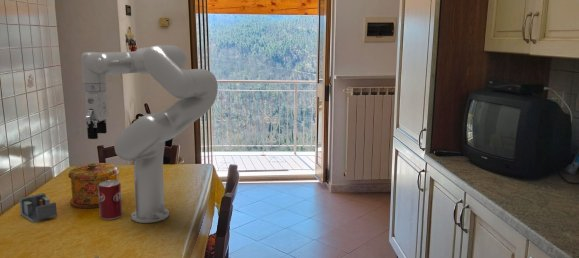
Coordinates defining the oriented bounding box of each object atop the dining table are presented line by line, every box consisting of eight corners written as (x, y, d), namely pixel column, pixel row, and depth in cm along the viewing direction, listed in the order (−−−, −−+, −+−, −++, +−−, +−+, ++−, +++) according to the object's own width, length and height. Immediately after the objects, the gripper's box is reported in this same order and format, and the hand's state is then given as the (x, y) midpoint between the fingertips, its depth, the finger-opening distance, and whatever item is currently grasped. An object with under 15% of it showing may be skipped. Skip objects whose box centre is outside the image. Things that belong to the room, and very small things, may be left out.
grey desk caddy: (57, 215, 158) (56, 199, 156) (32, 222, 151) (31, 205, 150) (44, 208, 164) (43, 192, 163) (20, 215, 158) (19, 198, 157)
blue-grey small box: (56, 214, 155) (55, 200, 154) (38, 219, 151) (37, 205, 150) (50, 210, 158) (49, 197, 157) (31, 215, 154) (30, 201, 153)
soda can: (98, 221, 154) (96, 187, 151) (101, 213, 160) (99, 180, 158) (121, 219, 155) (119, 185, 153) (123, 211, 162) (121, 179, 160)
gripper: (97, 90, 151) (100, 141, 154) (113, 85, 168) (115, 131, 171) (74, 90, 150) (77, 141, 153) (92, 85, 167) (94, 131, 170)
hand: (97, 135), depth 162 cm, fingers open, 9 cm apart
